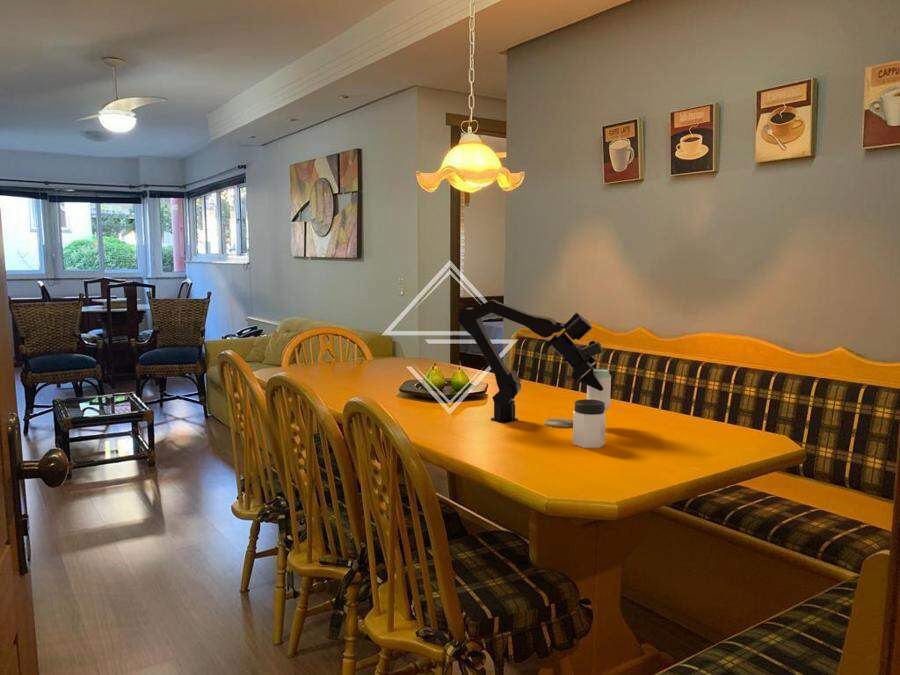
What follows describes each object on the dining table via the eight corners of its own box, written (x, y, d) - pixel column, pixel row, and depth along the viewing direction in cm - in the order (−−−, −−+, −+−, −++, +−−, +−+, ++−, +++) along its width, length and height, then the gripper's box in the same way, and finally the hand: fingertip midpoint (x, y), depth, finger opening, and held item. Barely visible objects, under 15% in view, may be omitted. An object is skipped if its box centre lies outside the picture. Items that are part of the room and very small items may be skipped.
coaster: (569, 429, 205) (569, 427, 205) (539, 425, 210) (539, 423, 210) (581, 422, 214) (581, 420, 214) (551, 418, 219) (551, 417, 219)
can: (612, 407, 209) (614, 369, 208) (605, 412, 203) (607, 372, 202) (590, 405, 213) (592, 367, 211) (583, 409, 207) (584, 370, 205)
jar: (611, 446, 186) (612, 403, 185) (588, 450, 182) (589, 406, 181) (589, 439, 194) (590, 397, 193) (567, 442, 190) (567, 400, 189)
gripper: (584, 336, 197) (621, 375, 195) (590, 329, 215) (625, 365, 213) (556, 361, 201) (592, 400, 199) (565, 353, 218) (598, 388, 216)
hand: (603, 387), depth 207 cm, fingers closed on can, 7 cm apart
